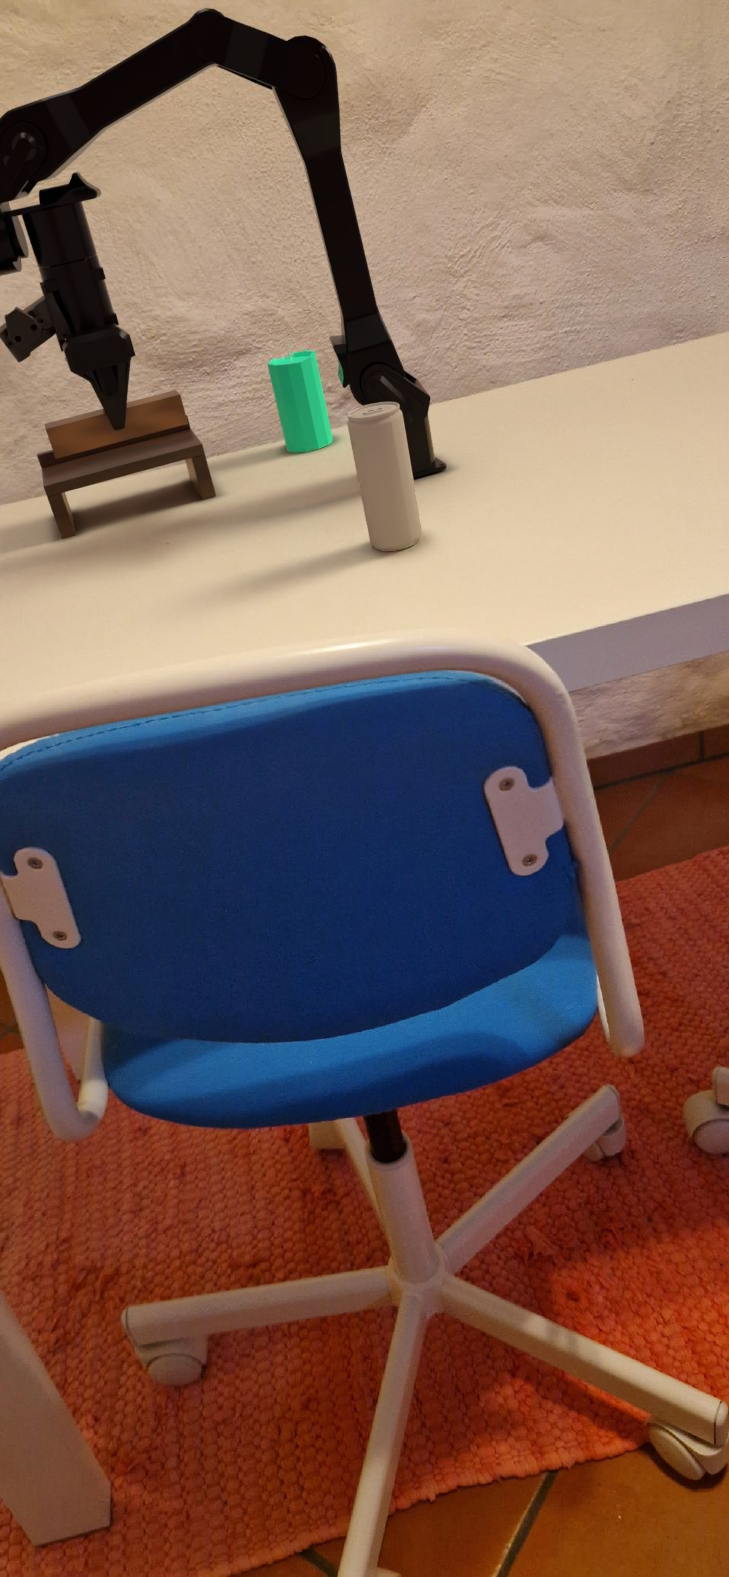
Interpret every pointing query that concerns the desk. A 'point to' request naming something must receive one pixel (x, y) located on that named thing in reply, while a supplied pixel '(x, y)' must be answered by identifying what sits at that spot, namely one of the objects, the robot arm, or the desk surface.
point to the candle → (300, 401)
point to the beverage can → (385, 475)
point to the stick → (100, 432)
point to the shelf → (121, 467)
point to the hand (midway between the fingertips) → (118, 426)
